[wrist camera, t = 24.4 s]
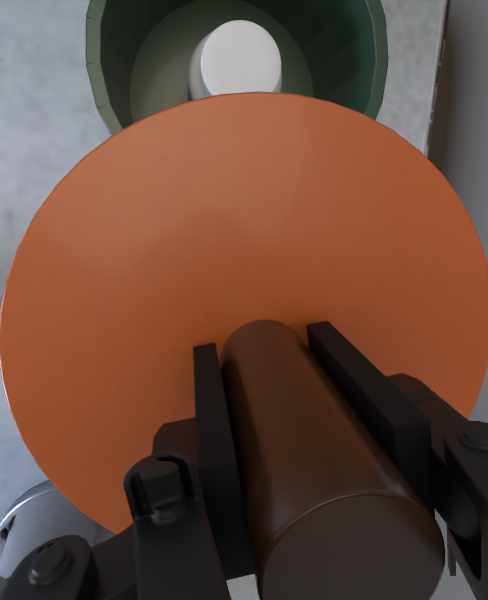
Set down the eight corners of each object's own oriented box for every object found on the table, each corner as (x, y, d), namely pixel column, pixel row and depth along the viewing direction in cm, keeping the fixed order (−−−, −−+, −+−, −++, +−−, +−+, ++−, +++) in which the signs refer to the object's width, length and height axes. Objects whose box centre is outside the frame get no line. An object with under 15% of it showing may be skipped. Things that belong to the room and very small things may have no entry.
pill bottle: (266, 70, 35) (303, 16, 24) (255, 148, 36) (285, 131, 25) (192, 54, 34) (195, -9, 23) (182, 135, 35) (181, 112, 24)
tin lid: (476, 490, 20) (754, 783, 10) (84, 581, 19) (-33, 1024, 9) (471, 63, 15) (994, -165, 5) (-62, 142, 14) (-690, 32, 4)
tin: (331, 189, 38) (398, 189, 26) (146, 223, 37) (128, 240, 25) (307, -25, 34) (374, -141, 22) (96, 5, 33) (44, -102, 21)
